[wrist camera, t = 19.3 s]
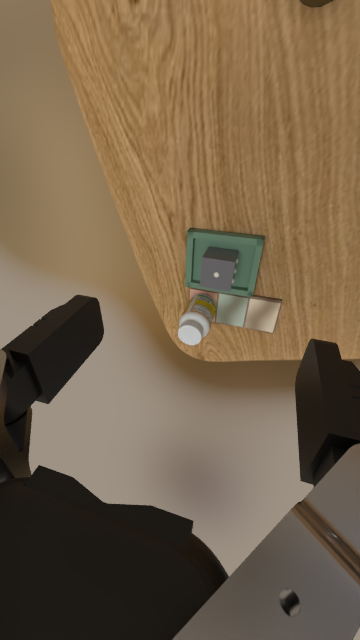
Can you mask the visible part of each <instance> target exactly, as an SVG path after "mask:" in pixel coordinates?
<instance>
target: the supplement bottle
mask: <svg viewBox="0 0 360 640" xmlns="http://www.w3.org/2000/svg"><path fill="white" fill-rule="evenodd" d="M216 309H217V307H216V303H215V301H214V300H213V299H212V298H211V297H210V296H208V295H205V294H198V295H195V296H193V297H192V298H191V300H190V302H189V303H188V305H187V307H186V309H185V311H184V312H183V314H182V316H181V318H180V321H179V327H180V328H179V330H178V336H179V338H180V340H181V341H182V342H184V343H186V344H188V345H196V344H198V343H199V342H200V341H201V339H202V338H203V337H204V336H206V335H207V333H208V332H209V329H210V326H211V324H212V321H213V318H214V315H215V312H216Z"/></svg>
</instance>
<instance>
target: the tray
mask: <svg viewBox="0 0 360 640" xmlns="http://www.w3.org/2000/svg"><path fill="white" fill-rule="evenodd" d="M264 237H265V236H258V235H249V234H240V233H231V232H222V231H213V230H204V229H195V228H190V229H189V230H188V231H187V254H186V282H185V287H191V288H198V289H204V290H210V291H216V292H222V293H229V294H235V295H241V296H247V297H253V293H254V288H255V283H256V278H257V273H258V268H259V263H260V258H261V253H262V248H263V243H264ZM209 246H211V247H218V248H225V249H232V250H239V254H238V263H237V265H236V273H235V277H234V282H233V284H232V287H231V291H230V292H228V291H223V290H217V289H211V288H206V287H200V275H201V264H202V257H203V255H204V253H205V252H206V250H207V248H208V247H209Z"/></svg>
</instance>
